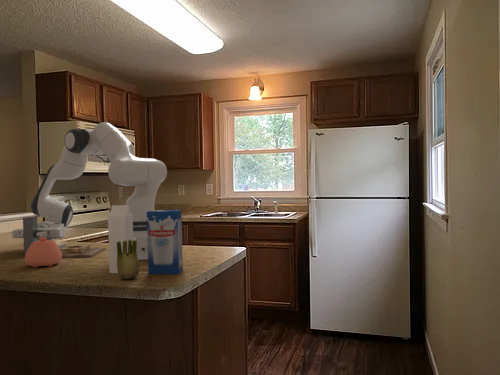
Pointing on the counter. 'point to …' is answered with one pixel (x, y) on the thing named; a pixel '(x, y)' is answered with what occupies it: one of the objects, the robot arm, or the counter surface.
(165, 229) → the milk carton
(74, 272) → the counter surface
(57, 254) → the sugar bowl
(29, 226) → the bar
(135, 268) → the fennel bulb
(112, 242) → the milk
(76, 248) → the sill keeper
